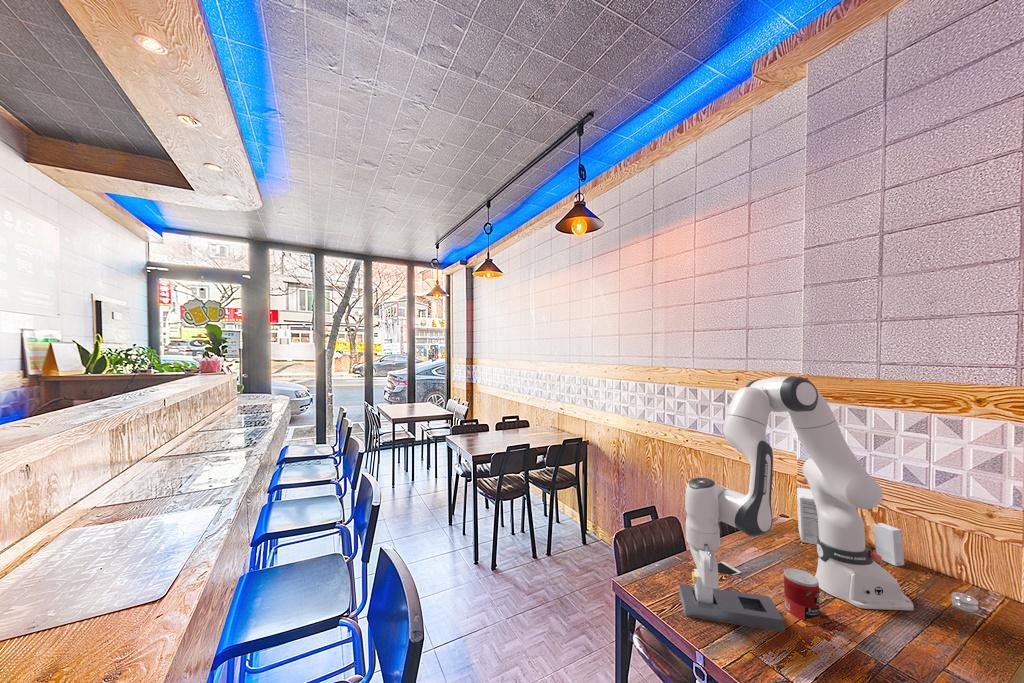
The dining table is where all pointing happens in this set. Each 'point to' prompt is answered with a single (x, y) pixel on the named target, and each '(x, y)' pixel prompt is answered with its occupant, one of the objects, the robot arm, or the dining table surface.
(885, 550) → the skincare box
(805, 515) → the supplement box
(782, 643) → the dining table surface
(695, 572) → the plug
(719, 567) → the smartphone
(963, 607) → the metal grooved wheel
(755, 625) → the panel
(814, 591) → the canned food
